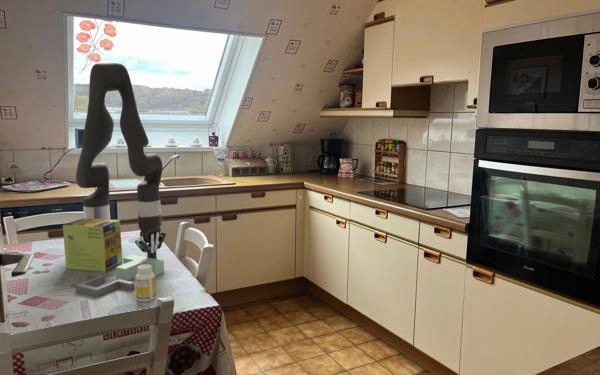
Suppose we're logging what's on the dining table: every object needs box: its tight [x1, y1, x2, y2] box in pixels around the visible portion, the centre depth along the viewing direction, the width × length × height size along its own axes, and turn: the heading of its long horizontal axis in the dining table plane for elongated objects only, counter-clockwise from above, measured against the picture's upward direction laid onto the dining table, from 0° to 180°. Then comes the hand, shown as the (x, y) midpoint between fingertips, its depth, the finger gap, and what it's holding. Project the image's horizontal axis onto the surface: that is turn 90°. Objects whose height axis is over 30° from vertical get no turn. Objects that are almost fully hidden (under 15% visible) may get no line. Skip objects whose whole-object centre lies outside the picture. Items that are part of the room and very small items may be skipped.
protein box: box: [62, 217, 123, 272], centre depth 167 cm, size 10×15×16 cm
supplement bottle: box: [134, 264, 157, 303], centre depth 139 cm, size 5×5×10 cm
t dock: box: [75, 272, 136, 298], centre depth 147 cm, size 19×10×2 cm, turn 63°
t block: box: [115, 254, 165, 281], centre depth 159 cm, size 12×14×4 cm
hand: (152, 262), depth 167 cm, fingers closed
